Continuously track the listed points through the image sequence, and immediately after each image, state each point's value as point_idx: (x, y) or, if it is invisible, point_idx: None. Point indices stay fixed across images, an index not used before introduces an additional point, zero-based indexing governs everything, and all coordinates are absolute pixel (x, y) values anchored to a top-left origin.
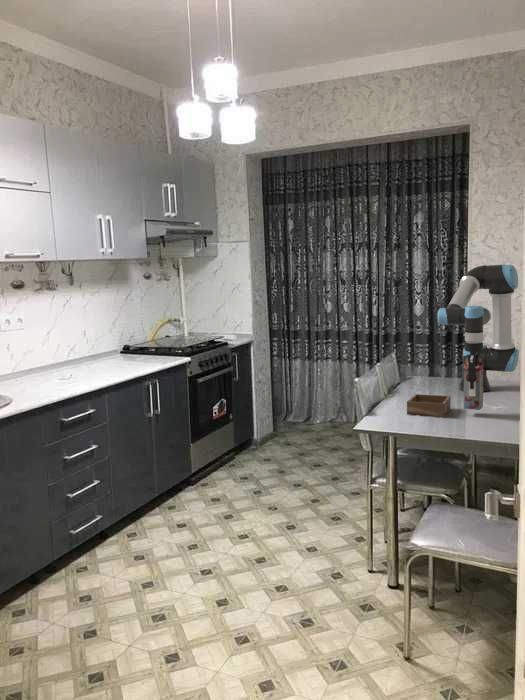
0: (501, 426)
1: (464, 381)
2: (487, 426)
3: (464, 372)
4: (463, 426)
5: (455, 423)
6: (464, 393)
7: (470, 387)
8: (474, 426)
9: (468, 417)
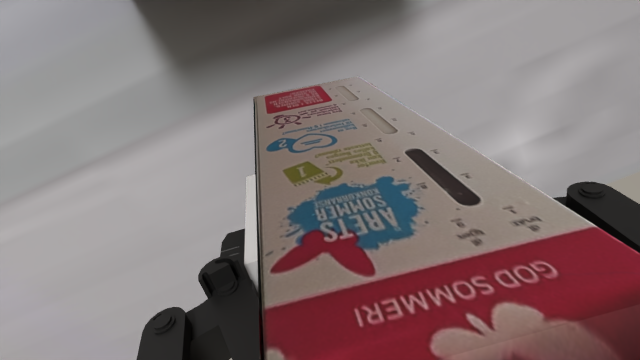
0: (188, 302)
1: (257, 196)
2: (141, 265)
3: (259, 289)
4: (37, 184)
5: (57, 119)
6: (255, 139)
7: (224, 248)
8: (89, 225)
9: (245, 121)
